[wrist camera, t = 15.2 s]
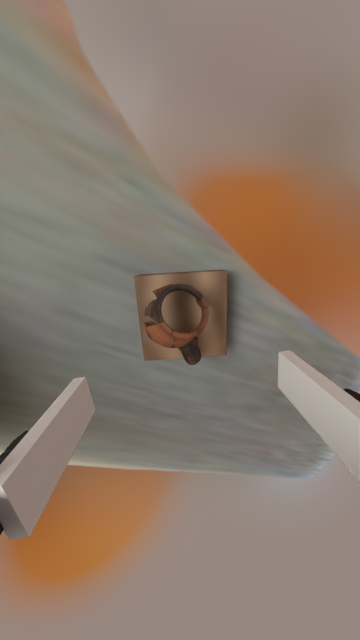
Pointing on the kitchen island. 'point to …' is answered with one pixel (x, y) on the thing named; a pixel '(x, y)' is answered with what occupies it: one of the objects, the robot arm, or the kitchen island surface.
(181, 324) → the walnut riser block
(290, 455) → the kitchen island surface
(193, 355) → the brown piece
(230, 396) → the kitchen island surface
